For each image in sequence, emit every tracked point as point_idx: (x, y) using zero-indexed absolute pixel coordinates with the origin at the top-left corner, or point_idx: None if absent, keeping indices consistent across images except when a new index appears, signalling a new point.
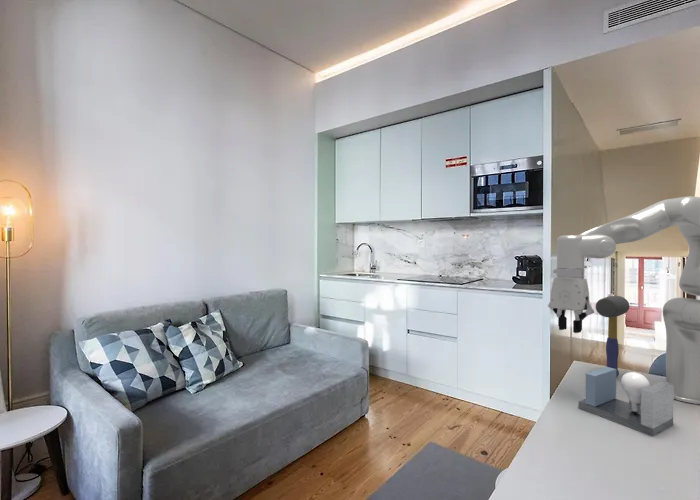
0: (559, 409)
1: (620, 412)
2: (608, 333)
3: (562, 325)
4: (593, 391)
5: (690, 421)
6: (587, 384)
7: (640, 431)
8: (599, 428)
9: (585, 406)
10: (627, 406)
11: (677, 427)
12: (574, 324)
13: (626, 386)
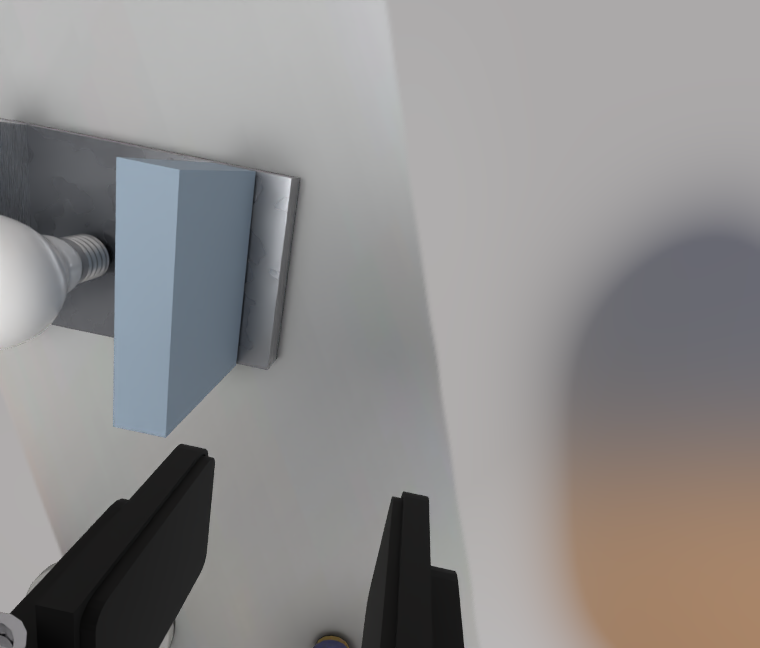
0: (352, 81)
1: None
2: None
3: (382, 568)
4: (183, 162)
5: (9, 388)
6: (202, 168)
7: (53, 128)
8: (155, 8)
9: (261, 171)
10: None
11: None
12: (118, 534)
13: (1, 216)
